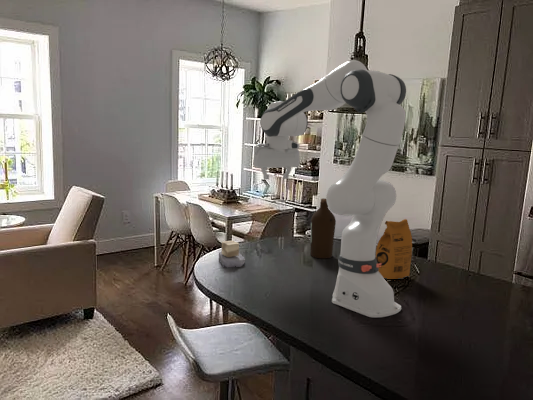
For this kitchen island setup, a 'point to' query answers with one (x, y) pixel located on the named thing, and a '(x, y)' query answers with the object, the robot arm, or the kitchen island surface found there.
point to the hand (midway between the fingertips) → (276, 178)
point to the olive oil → (322, 232)
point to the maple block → (230, 248)
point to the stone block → (231, 260)
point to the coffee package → (395, 250)
